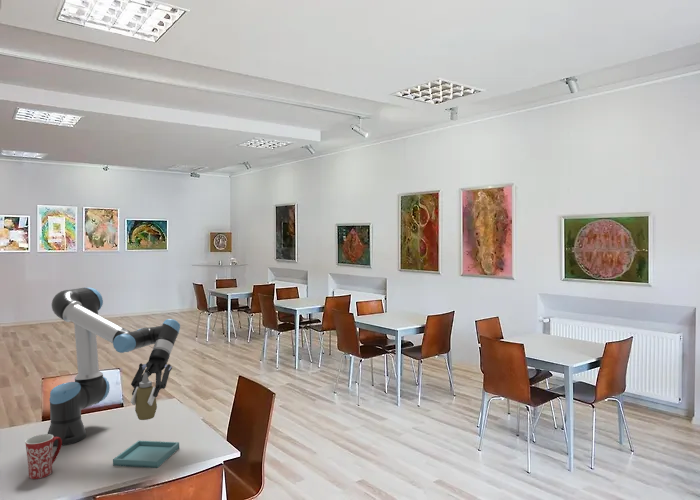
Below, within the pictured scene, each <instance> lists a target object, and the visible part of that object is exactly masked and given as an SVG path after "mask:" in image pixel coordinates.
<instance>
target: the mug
mask: <svg viewBox="0 0 700 500" xmlns="http://www.w3.org/2000/svg"><path fill="white" fill-rule="evenodd" d="M56 439H57V440H58V446H56V449H55V452H54V451H53V450H54V449H53V448H54V446H53V443H54V441H55V440H56ZM24 443H25V450H26V458H27V460H26V461H27V469H28V476H29V479H31V480H36V479H37V480H38V479H39V480H40V479H43V478H46V477H48V476H50V475H51V474H52V473H53V464H54V462H55V461H56V459H57V458H58V455H59V453H60V451H61V450H62V446H63V445H62V440H61V438H60V437H54V436H53V435H51V434H48V433H42V434H38V435H33V436H31V437H29V438H27V439H26V440H24ZM53 453H54V454H53Z"/></svg>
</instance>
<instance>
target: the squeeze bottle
mask: <svg viewBox="0 0 700 500" xmlns="http://www.w3.org/2000/svg"><path fill="white" fill-rule="evenodd" d="M142 375H143V379H142V382H140V383H139V388H138V389H137V394H136V404H135V405H134V406H135V407H134V410H135V413H136V416H137V419H138V420H139V421H140V420H141V421H148V420H151V419H154V418H155V415H156V411H157V408H158V406H157V397H155V399H154V401H153V404H152V406H150V405H149V404H148V403H147V402H148V399H149V397H150V394H151V392H152V389H153V387H154V386H152V385H153V381H152V380H149V377H148V375H147V373H144V372H143V374H142Z"/></svg>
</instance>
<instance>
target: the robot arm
mask: <svg viewBox="0 0 700 500" xmlns="http://www.w3.org/2000/svg"><path fill="white" fill-rule="evenodd" d="M103 304H104V299H103V296H102V294H101V293H100V291H98V289H96V288H93V287H78V288H72V289H65V290H61V291H59V292H58V293H56V294H55V296H53V298H52V301H51V310H52V311H53V313H54V315H56V317H58V319H60V320H63V321H64V322H67V323H70V322H72V323H73V325H74V339H75V349H76V350H75V351H76V361H77V362H76V365H77V375H76V376H75V377H74V381H68V382H66V383H61V384H57V385H56V386H54V387H53V388H52V389H51V390H50V393H49V400H48V401H49V413H50V414H49V415H50V417H49V418H50V425H49V428H48V430H47V434H51V435H53V436H54V437H60V438H61V440H62V446H67V445H71V444H75V443H78V442H80V441H82V440H84V439H85V438H86V436H87V431H86V428H85V425H84V423H83V420H82V410H83V409H86V408H89V407H91V406H94V405H97V404H99V403H100V402H103V401H104V400H106V398H107V397H108V395H109V394H110V388H111V387H110V382H109V380H107V378H106V377H105V376H104V373H103V372H102V371H100V368H99V366H100V365H99V355H98V354H99V353H98V342H97V341H98V340H97V336H98V337H99V338H102V339H103V340H105V341H106V342H109V343H111V344H112V346H113V348H114V349H115V351H116V352H117V353H120V354H124V353H129V352H132V351H134V350H137V349H138V350H139V349H141V348H144V347H147V346H150V345H153V347H152V350H151V352H150V355H149V359H148V361H147V362H146V363H144V364H143V363H139V365H138V369H137V371H136V373H135V375H134V376H133V379H132V381H131V382H130V385H131V386H132V388H133V390H132V393H131V395H132V397H131V399H130V403H131V404H132V406H136V394H137V389H138V388H139V383H140V382H142V379H143V374H144V373H147V375H148V378H149V377H150V376H152V374H155V385H154V386H153V389H152V392H151V394H150V397H149V399H148V402H147V403H148V404H149V405H150V406H152V404H153V401H154V399H155V397H156V398H157V397H158V395H159V393H160V390H162V389H164V390H165V389H166V387H167V383H168V381H169V376H170V373H171V371H172V370H173V366H172V365H171V364H170V363H168V362H169V360H170V355H171V354H172V350H173V348H174V345H175V343H176V341H177V338H178V335H179V334H180V329H181V323H179V322H178V320H176V319H172V318H167V319H165V320H164V321H163V322H162V324H161V325H158V326H149V327H141V328H138V329H136V330H134V331H131V330H128V329H126V328H124V327H122V326H120V325H118V324H117V323H115V322H113V321H111V320H109V319H107V318H106V317H104V316H102V315H100V314H99V310H101V309H102V307H103ZM162 371H163V373H162ZM162 374H163V375H162ZM57 446H58V440H57V439H56V440H55V441H54V443H53V447H57Z"/></svg>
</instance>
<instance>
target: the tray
mask: <svg viewBox="0 0 700 500" xmlns="http://www.w3.org/2000/svg"><path fill="white" fill-rule="evenodd" d="M179 449H180V442H179V441H175V442H174V441H161V440H159V441H157V440H155V441H154V440H137V441H136V442H135V443H133V444H132V445H130V446H129V447H128V448H126V449H124V451H122V452H120V454H118V455H117V456H115V457H114V458H113V459H112V466H114V467H128V468H129V467H131V468H148V469H149V468H151V469H158V468H159V467H160V466H161V465H162V464H163V463H165V462H166V461H167V460H168V459H169V458H170V457H171V456H173V454H175V452H177V451H179Z"/></svg>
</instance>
